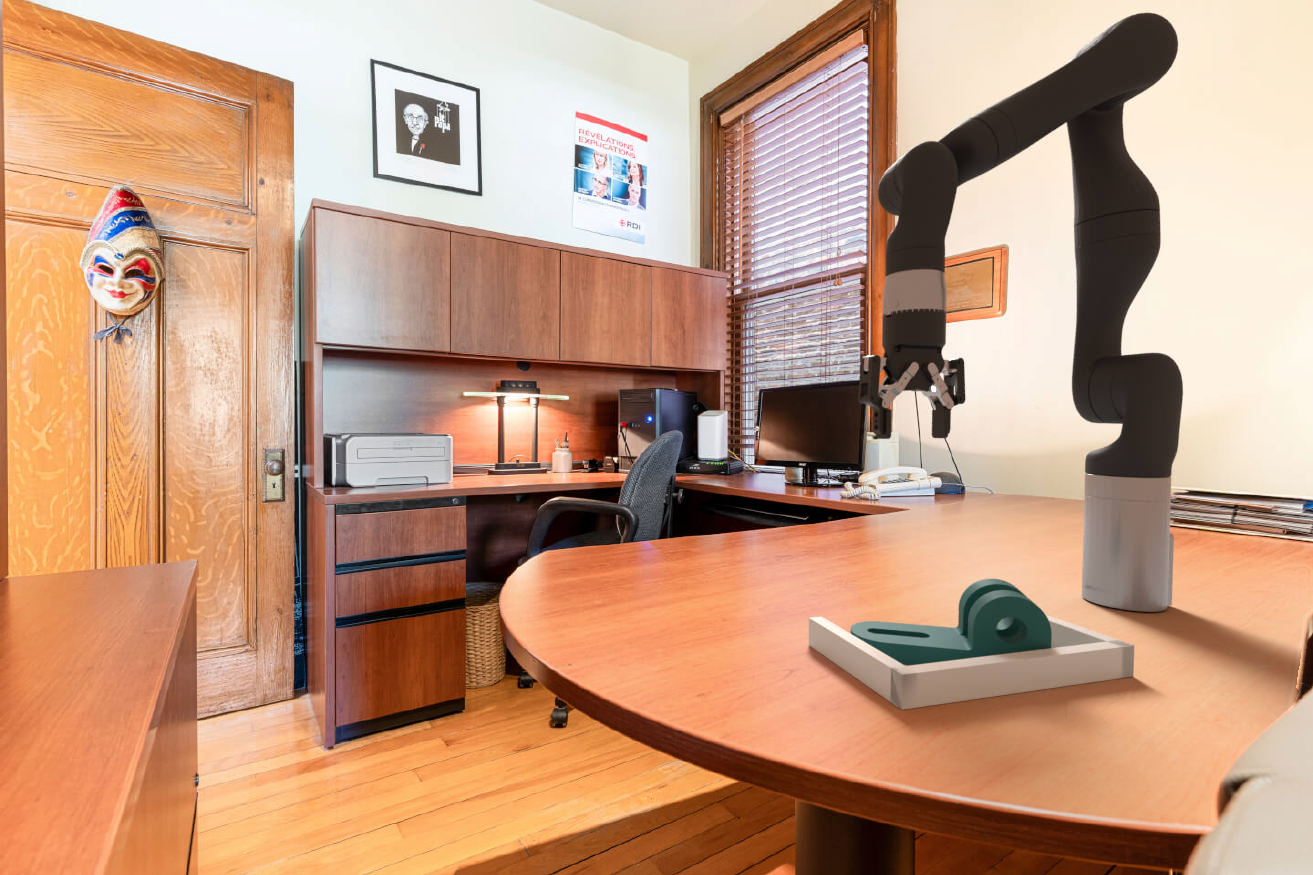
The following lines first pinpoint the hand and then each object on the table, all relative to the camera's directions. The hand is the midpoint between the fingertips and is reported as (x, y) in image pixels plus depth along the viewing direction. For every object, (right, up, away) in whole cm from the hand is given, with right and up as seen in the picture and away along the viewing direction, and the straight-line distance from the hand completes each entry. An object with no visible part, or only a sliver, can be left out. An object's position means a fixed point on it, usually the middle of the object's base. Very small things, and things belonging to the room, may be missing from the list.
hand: (911, 438), depth 79 cm
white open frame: (-2, -23, -16) cm, 28 cm away
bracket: (-3, -23, -15) cm, 28 cm away
